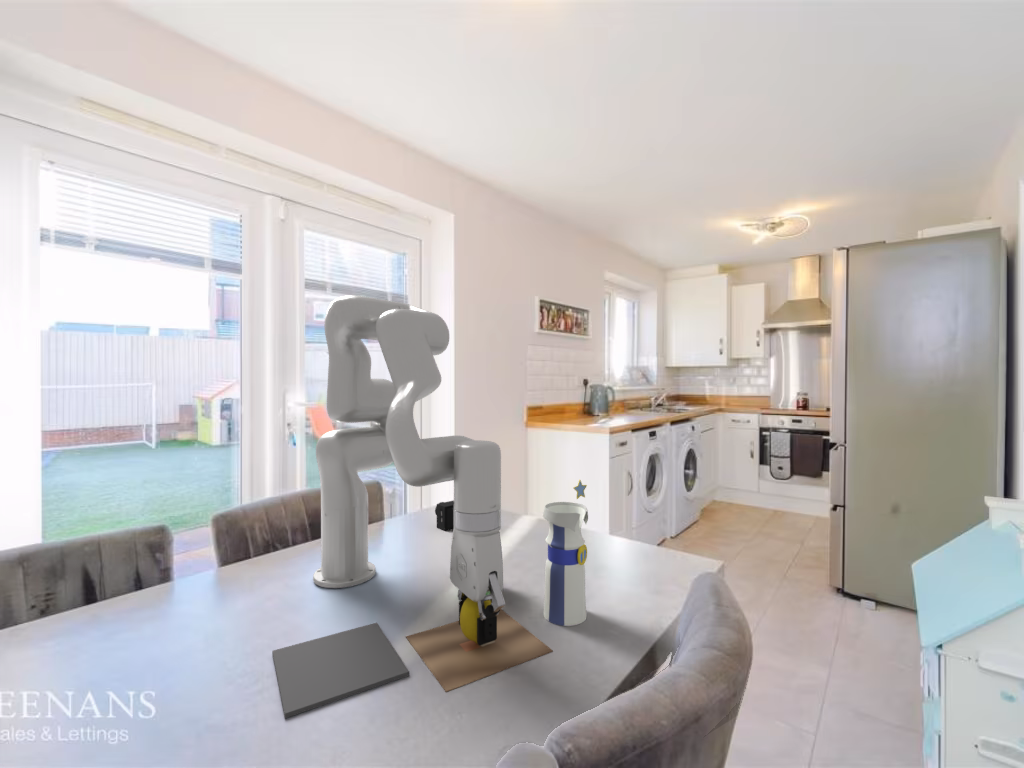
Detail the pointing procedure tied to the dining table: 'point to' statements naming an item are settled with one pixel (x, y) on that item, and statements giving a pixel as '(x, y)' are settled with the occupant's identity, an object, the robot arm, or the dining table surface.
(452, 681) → the board
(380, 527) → the dining table surface
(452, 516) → the digital camera
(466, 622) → the lemon
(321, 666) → the rubber mat
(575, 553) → the water bottle
